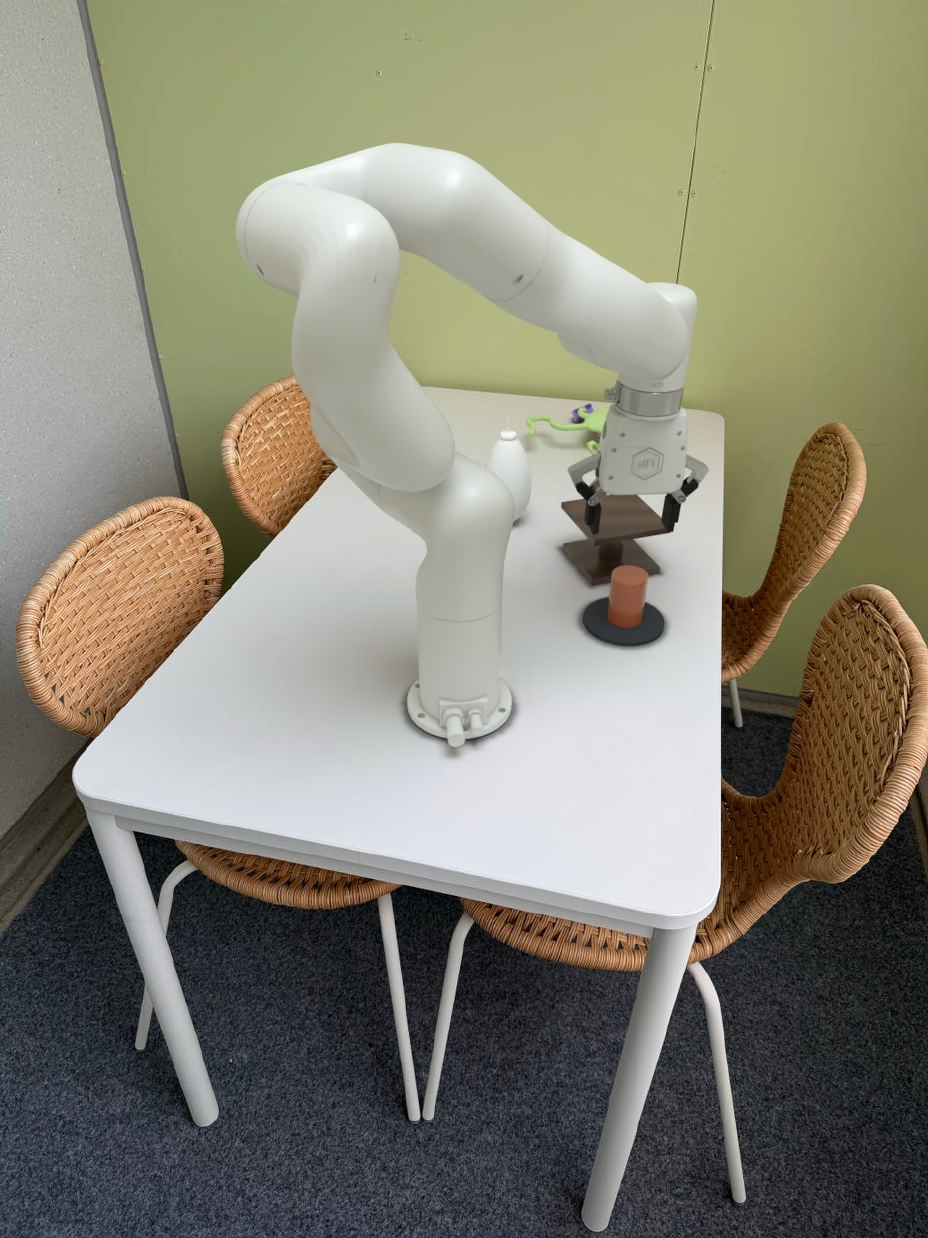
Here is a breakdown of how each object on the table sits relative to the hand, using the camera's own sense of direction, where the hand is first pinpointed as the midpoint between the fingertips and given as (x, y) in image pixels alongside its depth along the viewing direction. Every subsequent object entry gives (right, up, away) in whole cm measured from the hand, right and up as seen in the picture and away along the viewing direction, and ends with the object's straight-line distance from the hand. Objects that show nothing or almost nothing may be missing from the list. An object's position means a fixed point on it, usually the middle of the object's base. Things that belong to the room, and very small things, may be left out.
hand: (630, 528), depth 110 cm
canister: (+1, -11, +8) cm, 14 cm away
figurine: (+4, +23, +58) cm, 63 cm away
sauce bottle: (-14, +4, +32) cm, 35 cm away
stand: (+1, -3, +22) cm, 22 cm away
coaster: (+1, -12, +9) cm, 15 cm away
